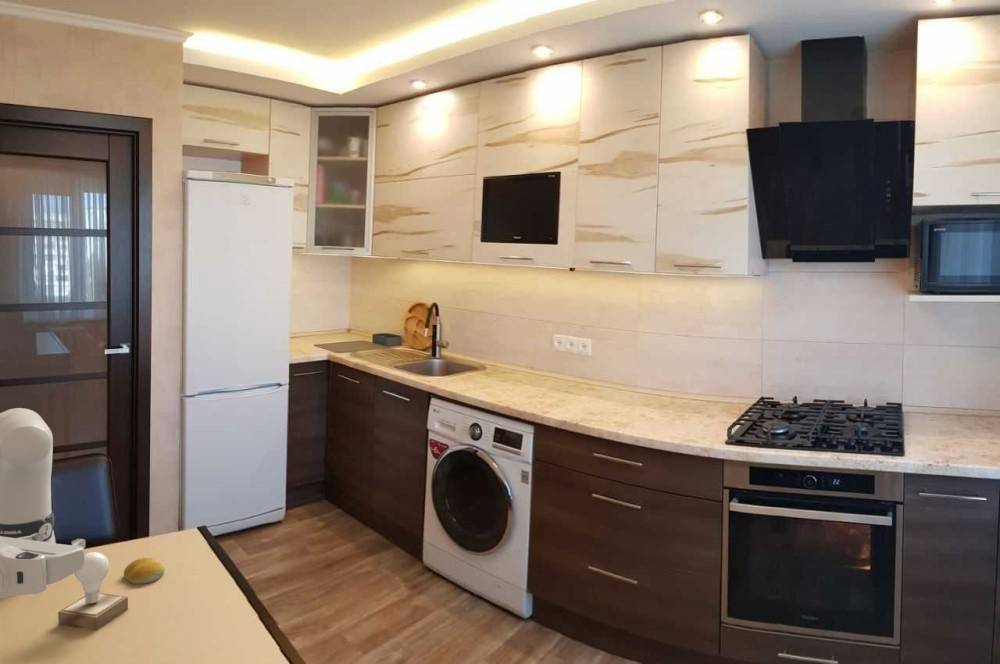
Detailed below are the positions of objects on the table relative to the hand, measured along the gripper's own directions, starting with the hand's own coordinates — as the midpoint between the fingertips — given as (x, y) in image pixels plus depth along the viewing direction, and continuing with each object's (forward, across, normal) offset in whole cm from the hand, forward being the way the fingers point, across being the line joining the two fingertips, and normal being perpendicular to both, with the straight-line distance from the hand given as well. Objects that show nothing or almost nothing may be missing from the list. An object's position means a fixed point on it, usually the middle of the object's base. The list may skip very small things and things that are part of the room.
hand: (61, 539), depth 134 cm
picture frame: (+10, -2, -21) cm, 23 cm away
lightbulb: (+10, -2, -18) cm, 21 cm away
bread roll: (+29, -5, -22) cm, 36 cm away
